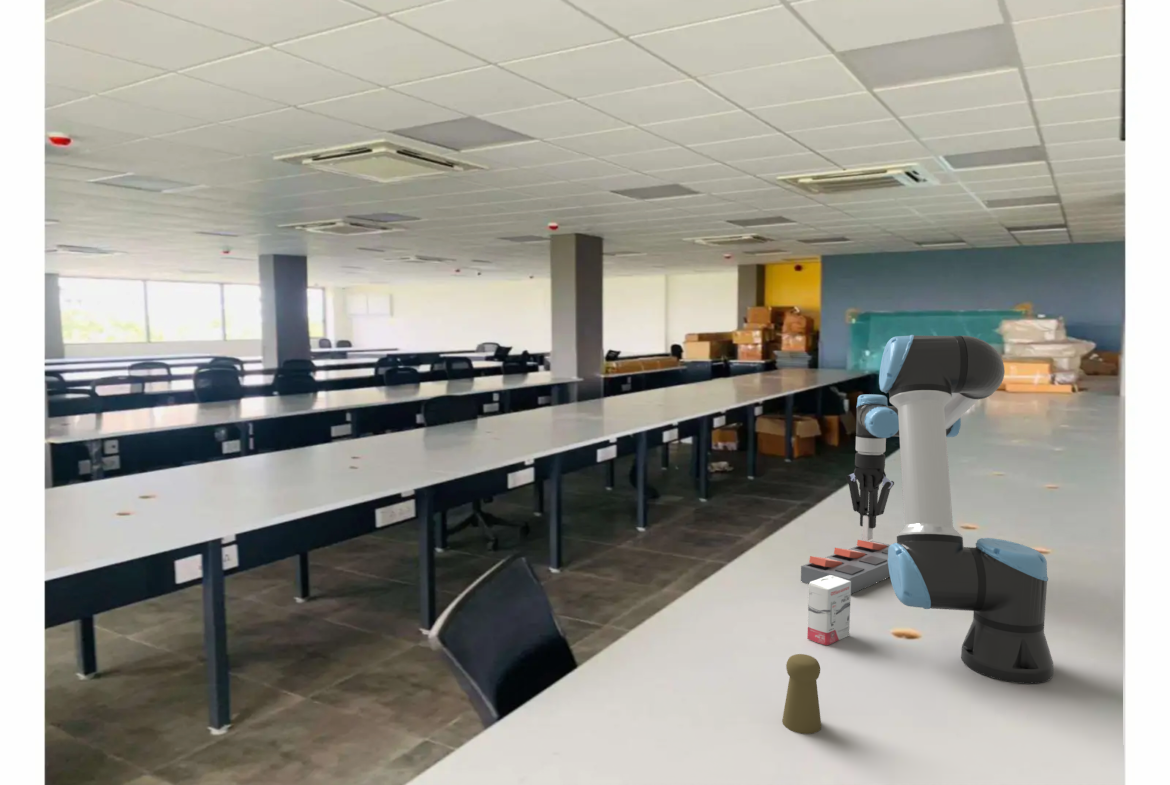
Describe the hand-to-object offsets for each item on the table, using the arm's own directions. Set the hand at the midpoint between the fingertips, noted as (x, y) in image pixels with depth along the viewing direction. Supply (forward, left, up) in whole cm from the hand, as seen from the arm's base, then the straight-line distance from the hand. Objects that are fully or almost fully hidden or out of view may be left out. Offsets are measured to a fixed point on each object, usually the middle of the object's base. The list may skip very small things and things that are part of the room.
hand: (867, 539), depth 206 cm
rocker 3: (0, -2, -2) cm, 3 cm away
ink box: (-20, +52, -7) cm, 56 cm away
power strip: (-3, +5, -7) cm, 9 cm away
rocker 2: (0, +9, -2) cm, 9 cm away
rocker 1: (0, +21, -2) cm, 21 cm away
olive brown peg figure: (-36, +86, -7) cm, 94 cm away
